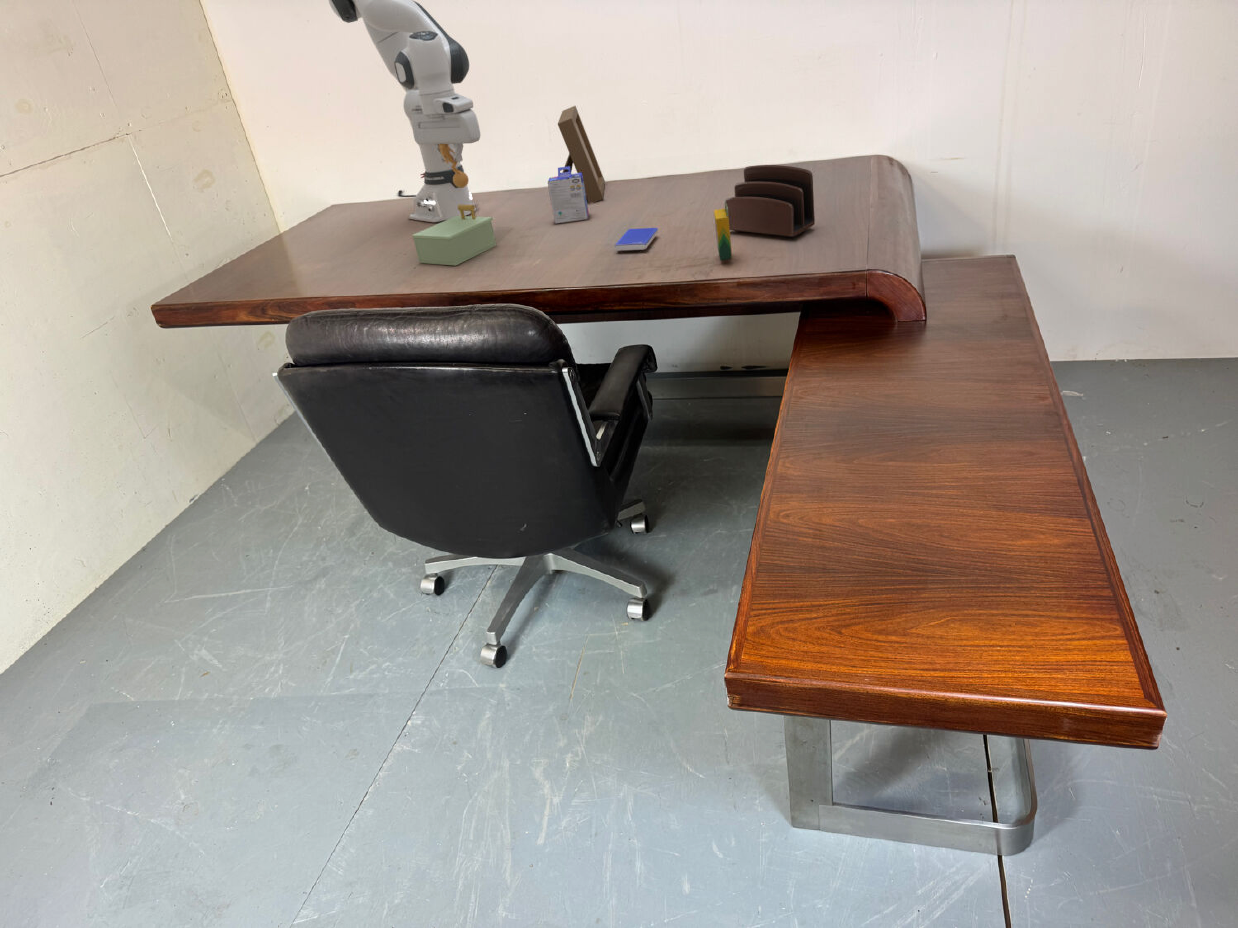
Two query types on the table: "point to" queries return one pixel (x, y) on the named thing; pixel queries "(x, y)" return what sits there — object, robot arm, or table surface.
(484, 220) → the chest lid
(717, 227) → the crayon box
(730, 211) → the letter holder
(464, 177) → the figurine
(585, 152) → the photo frame
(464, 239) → the chest
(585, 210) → the ink cartridge box
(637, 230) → the hard drive
